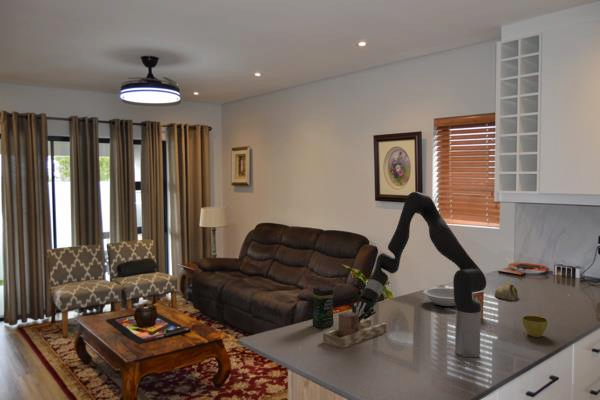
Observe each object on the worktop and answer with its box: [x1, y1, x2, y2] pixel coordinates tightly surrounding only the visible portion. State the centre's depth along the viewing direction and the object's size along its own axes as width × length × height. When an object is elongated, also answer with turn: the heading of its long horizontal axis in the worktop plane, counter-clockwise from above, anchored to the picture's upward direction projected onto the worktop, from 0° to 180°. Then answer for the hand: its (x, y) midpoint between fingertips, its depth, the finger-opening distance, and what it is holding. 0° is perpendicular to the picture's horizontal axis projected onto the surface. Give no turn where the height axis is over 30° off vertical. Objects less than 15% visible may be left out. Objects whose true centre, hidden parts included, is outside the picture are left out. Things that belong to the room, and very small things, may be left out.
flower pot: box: [521, 315, 549, 338], centre depth 205 cm, size 10×10×7 cm
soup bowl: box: [423, 287, 456, 307], centre depth 254 cm, size 24×24×7 cm
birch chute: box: [322, 317, 387, 349], centre depth 204 cm, size 30×10×4 cm, turn 133°
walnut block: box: [338, 310, 359, 337], centre depth 200 cm, size 6×6×10 cm
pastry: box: [494, 284, 519, 302], centre depth 269 cm, size 14×12×8 cm
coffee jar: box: [312, 284, 335, 329], centre depth 219 cm, size 10×8×19 cm
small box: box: [472, 290, 485, 318], centre depth 232 cm, size 8×6×13 cm
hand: (354, 325), depth 203 cm, fingers closed
